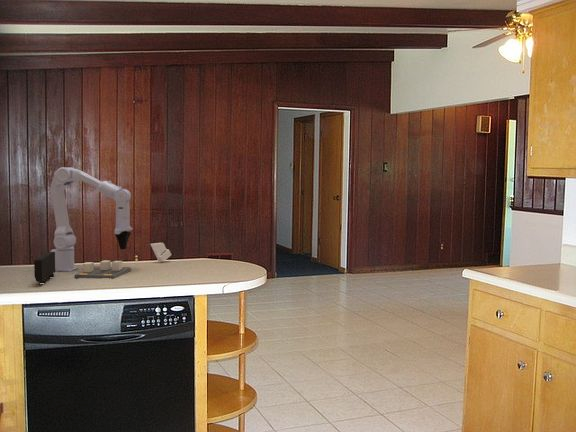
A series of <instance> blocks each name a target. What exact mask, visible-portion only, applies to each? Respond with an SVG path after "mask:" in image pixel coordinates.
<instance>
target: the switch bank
mask: <svg viewBox="0 0 576 432" xmlns="http://www.w3.org/2000/svg"><path fill="white" fill-rule="evenodd" d="M122 268H123V269H122V270H120V271H112V266H111V269H109V270H100V265H99V266H98V265H94V271H92V272H90V273H89V272H83V270H82V271H79V272H77V273H75V274H74V279H102V278H109V279H110V278H111V279H112V280H114V278H115V279H117V278H119V277H120V276H123V275H125V274H127V273H129V272H130V271H132V268H131V266H122ZM116 277H117V278H116ZM111 279H110V280H111Z"/></svg>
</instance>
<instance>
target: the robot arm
mask: <svg viewBox="0 0 576 432" xmlns="http://www.w3.org/2000/svg"><path fill="white" fill-rule="evenodd" d="M76 181H77V182H78V181H81V182H83V183H85V184H87V185H90V186H93V187H94V188H96V189H97V190H98V192H99V193H100V194H102V195H104V196H105V197H108V198H110V199H112V200H114V202H115V229H114V231H113V232H114V235H115V237H116V239H117V241H118V247H119V249H120V250H126V249H127V246H128V242H129V238H130V236H131V234H132V232H130V231H131V230H133V227H131V225H130V223H131V222H130V221H131V219H130V218H131V214H130V213H131V212H130V209H131V208H130V201H131V198H132V194H131V191H129V190H128V189H127V188H122V187H123V186H121V185H120V186H118V185H116V184H114V183H112V181H111V180H103V181H102V180H99V179H98V178H96V177H95V176H93V175H90V174H89V173H86V172H85V171H82V170H80V169H77V168H75V167H72V166H71V167H65V166H62V167H58V168H57V169H56V171H54V173H53V178H52V180H51V183H50V186H49V187H50V194H51V200H52V201H51V202H52V207H53V214H54V220H55V227H56V229H55V231H54V239H53V245H54V247H55V248H54V249H51V250H50V252H55V272H71V271H74V270H77V269H79V266H75V247H74V246H75V245H76V243H77V237H76V235H75V234H74V231H73V228H72V227H71V225H70V219H69V213H68V212H69V211H68V207H67V199H66V193H65V190H66V189H67V187H68V186H70V185H71V184H72V183H74V182H76Z"/></svg>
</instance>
